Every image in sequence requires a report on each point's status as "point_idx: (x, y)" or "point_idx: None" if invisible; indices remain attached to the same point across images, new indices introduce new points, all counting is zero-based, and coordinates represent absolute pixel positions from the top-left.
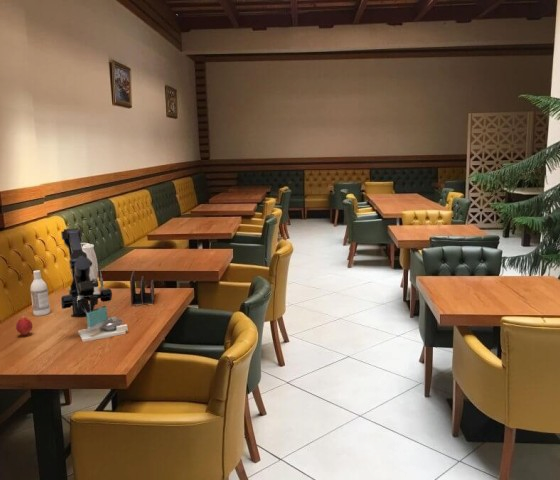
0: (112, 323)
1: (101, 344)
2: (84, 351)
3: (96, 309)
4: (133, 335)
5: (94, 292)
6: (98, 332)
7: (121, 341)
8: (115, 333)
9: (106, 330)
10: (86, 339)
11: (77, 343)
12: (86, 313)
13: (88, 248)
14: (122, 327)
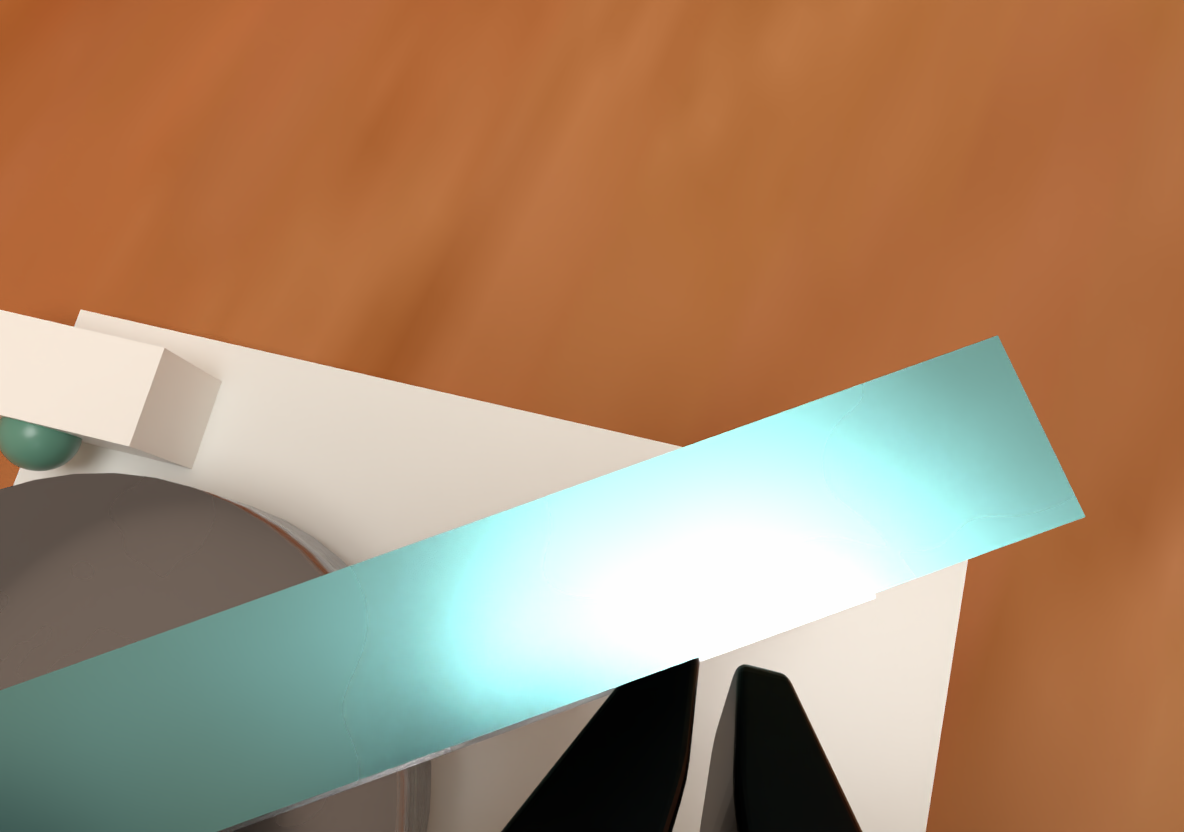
0: (115, 581)
1: (722, 118)
2: (1092, 10)
3: (343, 675)
4: (84, 129)
5: None
6: None
7: (395, 4)
8: (284, 357)
9: None
10: None
11: (1078, 532)
12: (1060, 509)
13: None
14: (62, 327)
